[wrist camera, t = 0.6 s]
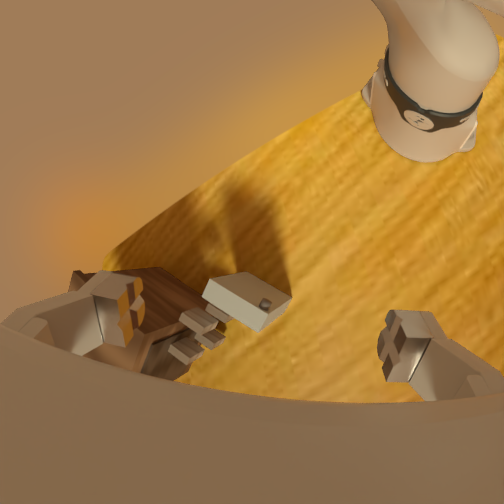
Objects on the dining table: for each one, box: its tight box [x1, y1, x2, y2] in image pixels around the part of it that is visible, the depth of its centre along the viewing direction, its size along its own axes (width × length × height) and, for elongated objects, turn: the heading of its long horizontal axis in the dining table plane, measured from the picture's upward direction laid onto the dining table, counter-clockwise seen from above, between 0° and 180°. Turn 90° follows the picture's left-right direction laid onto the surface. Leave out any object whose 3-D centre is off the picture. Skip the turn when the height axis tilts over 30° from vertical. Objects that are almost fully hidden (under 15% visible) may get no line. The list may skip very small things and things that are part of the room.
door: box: [202, 271, 292, 333], centre depth 41 cm, size 4×8×12 cm, turn 63°
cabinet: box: [68, 267, 234, 381], centre depth 43 cm, size 16×17×19 cm
